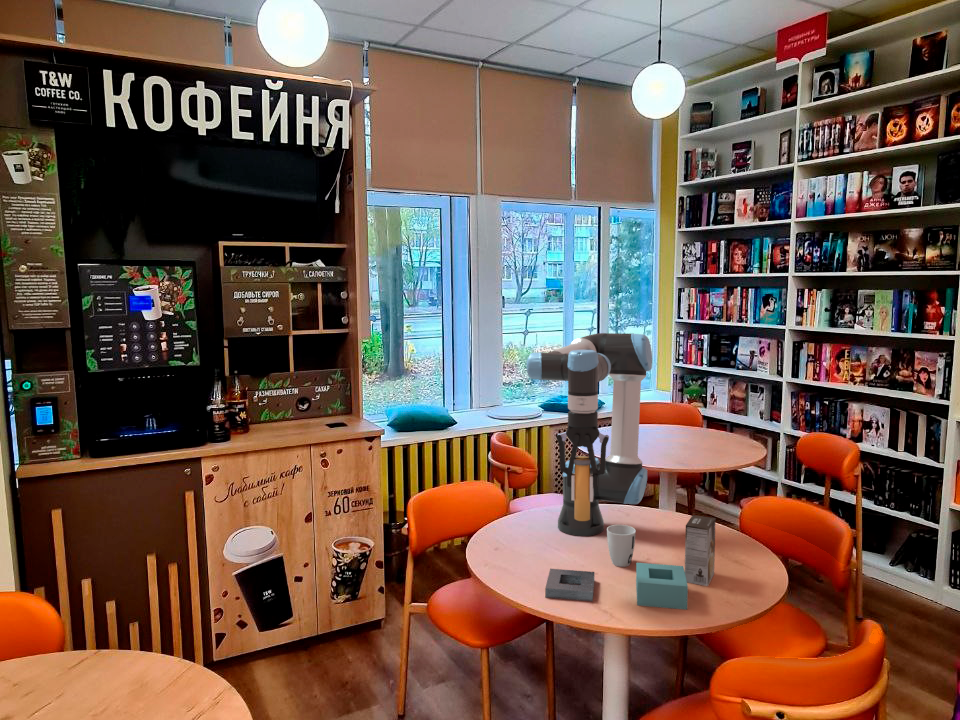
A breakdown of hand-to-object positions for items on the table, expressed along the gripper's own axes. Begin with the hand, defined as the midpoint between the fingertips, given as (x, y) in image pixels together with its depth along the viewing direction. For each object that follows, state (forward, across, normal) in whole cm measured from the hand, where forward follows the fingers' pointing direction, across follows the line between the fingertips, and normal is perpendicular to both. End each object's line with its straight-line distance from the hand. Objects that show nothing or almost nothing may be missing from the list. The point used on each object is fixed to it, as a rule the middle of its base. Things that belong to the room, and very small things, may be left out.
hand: (582, 499), depth 169 cm
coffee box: (+25, +31, +14) cm, 42 cm away
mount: (+25, -3, 0) cm, 25 cm away
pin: (+5, 0, 0) cm, 5 cm away
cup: (+25, +10, +19) cm, 33 cm away
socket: (+25, +20, 0) cm, 32 cm away
